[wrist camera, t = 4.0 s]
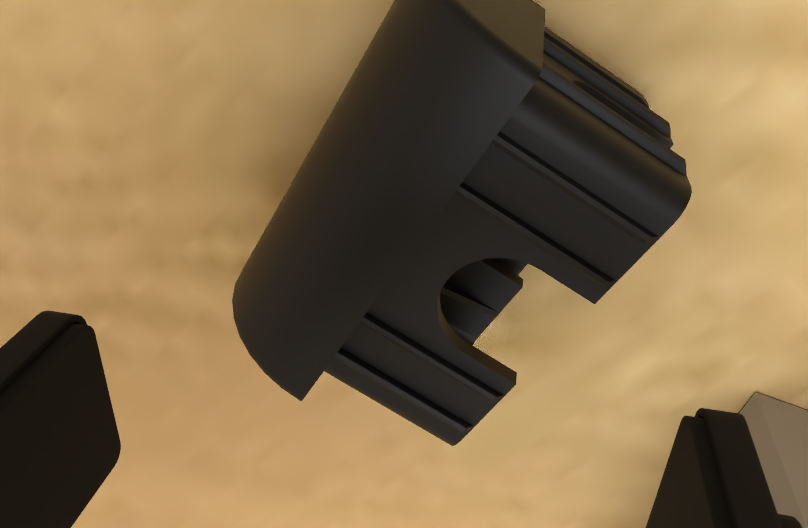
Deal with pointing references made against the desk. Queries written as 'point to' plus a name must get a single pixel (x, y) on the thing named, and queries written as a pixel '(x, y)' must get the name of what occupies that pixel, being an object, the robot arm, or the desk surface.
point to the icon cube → (781, 452)
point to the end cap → (452, 208)
